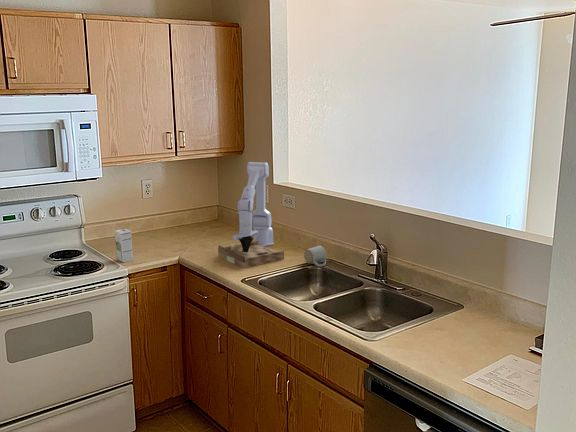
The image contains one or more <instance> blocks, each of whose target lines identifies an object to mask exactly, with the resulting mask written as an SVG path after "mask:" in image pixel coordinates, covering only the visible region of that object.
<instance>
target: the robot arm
mask: <svg viewBox="0 0 576 432" xmlns="http://www.w3.org/2000/svg"><path fill="white" fill-rule="evenodd" d="M269 169H270V165H269V164H268V162H267V161H266V162H261V161H260V162H258V161H257V162H256V161H248V163H247V165H246V172H247V175H248V179H247V185H246V186H245V187H244V188H243V191H242V194H241V197H240V199H238V200H237V205H236V207H237V214H238V215H239V216H238V217H239V221H238V222H239V232H238V233H237V234H234V235H232V241H237V240H239V242H240V244H242V247H243V251H244V252H246V253H247V252H248V251H249V247H250V244H251V242H253V240H254V242H255V241H258V244H259V245H262V246H265V247H267V246H272V245H275V243H274V230H273V228H272V227H271V226H272V224H273V223H272V222H273V221H272V220H273V219H272V213H271V212H270V211H269V210H268V209H266V179H267V178H269V176H270V170H269ZM254 199H255V201H254ZM254 203H256V204H255V206H256V207H255V209H254ZM252 227H253V228H252ZM252 229H254V230H252Z"/></svg>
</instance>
